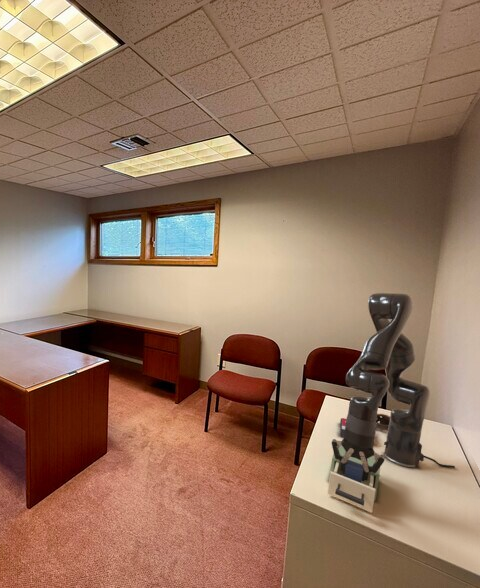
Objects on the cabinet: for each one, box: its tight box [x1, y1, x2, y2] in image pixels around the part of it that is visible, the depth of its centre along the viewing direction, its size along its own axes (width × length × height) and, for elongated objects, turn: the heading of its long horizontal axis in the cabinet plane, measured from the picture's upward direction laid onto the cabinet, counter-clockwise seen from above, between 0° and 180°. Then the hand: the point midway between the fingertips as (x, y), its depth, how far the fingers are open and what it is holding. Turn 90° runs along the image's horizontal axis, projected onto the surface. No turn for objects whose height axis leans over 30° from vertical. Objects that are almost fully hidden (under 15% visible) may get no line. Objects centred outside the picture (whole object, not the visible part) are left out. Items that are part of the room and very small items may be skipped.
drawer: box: [327, 462, 376, 514], centre depth 107 cm, size 19×11×8 cm, turn 136°
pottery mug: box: [376, 413, 390, 431], centre depth 154 cm, size 12×10×8 cm
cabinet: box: [328, 445, 381, 502], centre depth 115 cm, size 15×13×10 cm
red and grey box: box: [339, 417, 346, 438], centre depth 147 cm, size 11×4×15 cm
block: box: [344, 460, 364, 483], centre depth 107 cm, size 4×4×4 cm
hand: (353, 476), depth 107 cm, fingers closed on block, 4 cm apart
